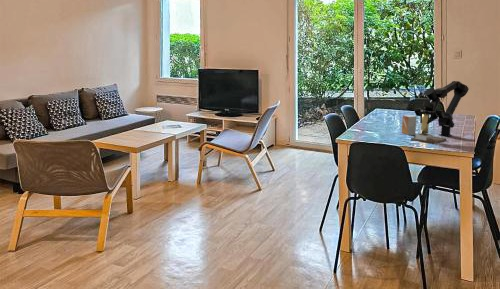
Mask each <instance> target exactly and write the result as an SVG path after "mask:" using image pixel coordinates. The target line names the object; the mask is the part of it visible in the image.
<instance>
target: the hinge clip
mask: <svg viewBox="0 0 500 289" xmlns="http://www.w3.org/2000/svg"><path fill="white" fill-rule="evenodd" d="M415 137H416V139H419V140H425V141H427V140H431V139H432V138H433V137H434V134H432V133H426V134H424V133H421V132H420V133H415Z"/></svg>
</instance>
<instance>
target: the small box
mask: <svg viewBox="0 0 500 289" xmlns="http://www.w3.org/2000/svg"><path fill="white" fill-rule="evenodd" d="M416 129H417V115H416V116H415V115H412V114H403V115H402V124H401V134H403V135H406V136H416V132H417V131H416Z"/></svg>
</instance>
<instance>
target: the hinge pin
mask: <svg viewBox="0 0 500 289" xmlns="http://www.w3.org/2000/svg"><path fill="white" fill-rule="evenodd" d="M429 118H430V115H428V114H422V123H420V124H421V126H420V133H424V134H429V126H430V123H429V124H427V122H428V120H429Z"/></svg>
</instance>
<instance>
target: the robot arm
mask: <svg viewBox="0 0 500 289" xmlns="http://www.w3.org/2000/svg"><path fill="white" fill-rule="evenodd" d="M469 90H470V89H469V86H468V85H466V84H464V83H462V82H461V81H459V80H453V81H452V80H451V82H450V83H448V84H447V85H445V86H444V87H440V88H439V87H438V88H436V89H435V88H434V87H430V88H428V89H426V90H425V91H424V95H425V96H426V98H427V99H428V100H429V101H423V105H422V107H423V108H424V109H423V108H421V107H415V108H414V113H415V115H416V117H420V120H419V121H420V124H422V114H428V115H429V120H428V122H427V124H429V125H430V124H431V123H432V122H434V121H435V120H437V123H438V127H441V128H440V129H441V131H440V134H438V135H439V136H440V137H441V136H443V137H451V136H452V134H451V128H452V129H453V128H454V127H455V123H454V121H453V120H454V117H453V115H454V113H455V112H456V109H457V107H458V105H459V102H460V101H461V99H462V98H463V97H465V96H466V94H468V93H469ZM452 91H453V97H452V99H451V101H450V102H449V104H448V106H447V108H446V110H445V112H444V110H442V109H441V110H439V109H438V106H439V104H440V105H441V104H442V101H441V99H445V98H446V97H447V96H448V93H450V92H452Z"/></svg>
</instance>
